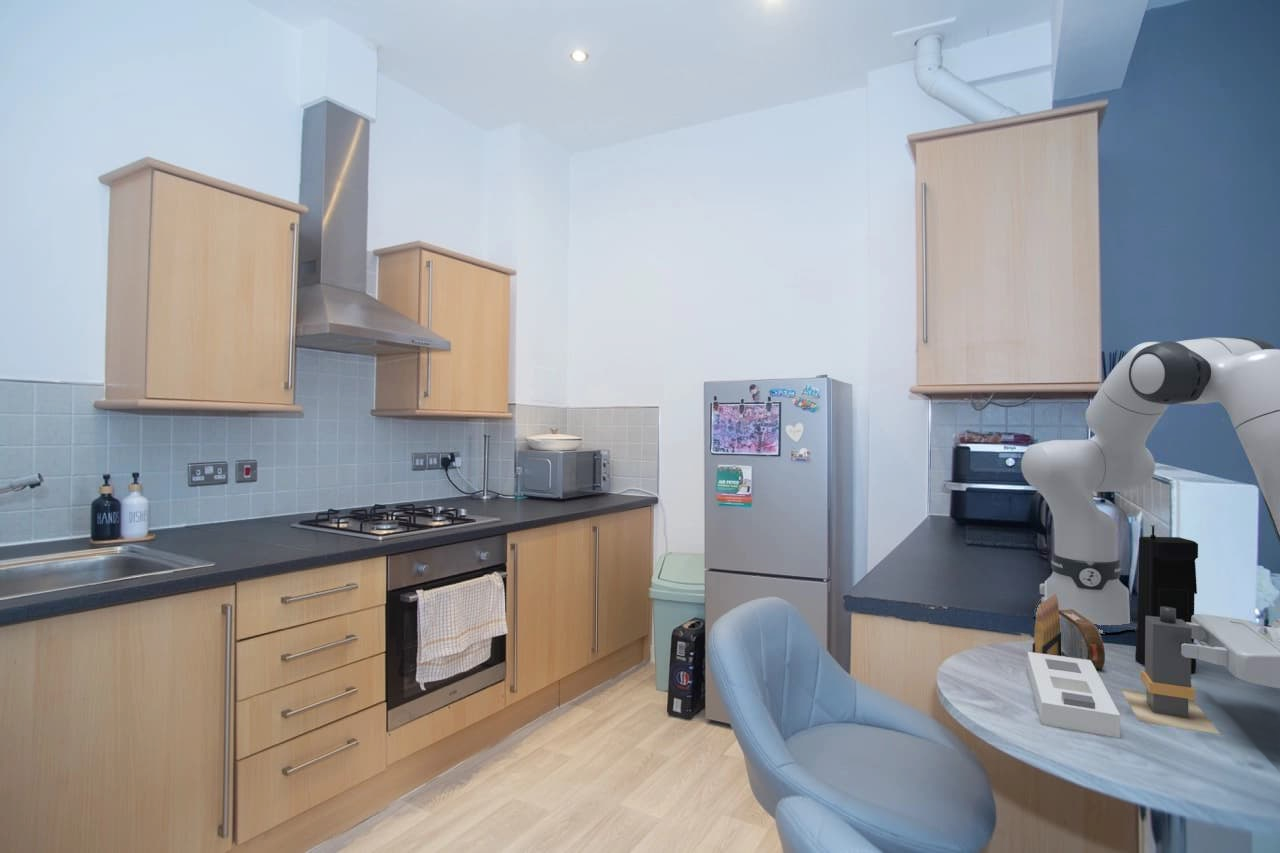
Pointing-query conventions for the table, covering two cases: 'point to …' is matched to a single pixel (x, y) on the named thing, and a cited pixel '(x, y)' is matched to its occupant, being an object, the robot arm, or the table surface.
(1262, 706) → the table surface
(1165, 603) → the portable radio
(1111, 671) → the table surface
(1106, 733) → the power strip
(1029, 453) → the robot arm
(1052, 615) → the ammunition clip
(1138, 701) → the oak board
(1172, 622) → the plug
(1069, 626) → the tin
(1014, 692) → the table surface
